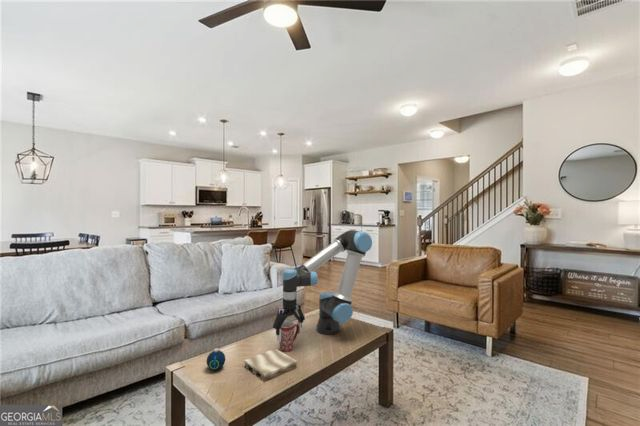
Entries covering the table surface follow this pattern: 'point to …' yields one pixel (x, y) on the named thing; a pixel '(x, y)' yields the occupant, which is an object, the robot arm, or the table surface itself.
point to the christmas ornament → (215, 359)
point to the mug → (288, 335)
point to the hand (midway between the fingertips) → (289, 337)
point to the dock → (270, 364)
